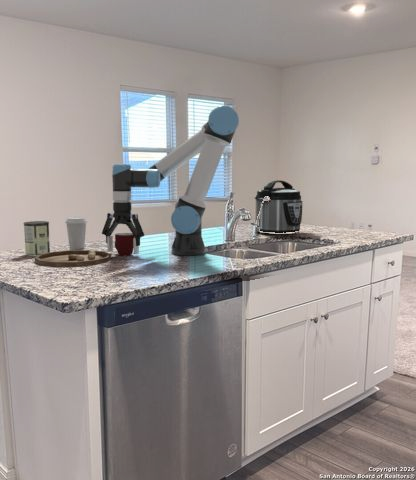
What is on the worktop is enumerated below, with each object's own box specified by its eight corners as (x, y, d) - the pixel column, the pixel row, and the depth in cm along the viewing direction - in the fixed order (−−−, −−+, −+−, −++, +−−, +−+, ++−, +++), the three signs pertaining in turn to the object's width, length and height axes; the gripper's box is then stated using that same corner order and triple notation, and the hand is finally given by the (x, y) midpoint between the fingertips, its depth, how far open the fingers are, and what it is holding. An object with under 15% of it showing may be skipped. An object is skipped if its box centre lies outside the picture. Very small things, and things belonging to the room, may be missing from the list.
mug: (107, 257, 201) (106, 233, 199) (121, 254, 207) (120, 232, 206) (125, 260, 195) (124, 235, 193) (138, 257, 201) (138, 233, 200)
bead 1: (86, 262, 183) (85, 254, 182) (80, 263, 180) (80, 255, 179) (79, 261, 184) (79, 254, 183) (74, 262, 181) (74, 255, 181)
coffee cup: (76, 253, 211) (75, 219, 209) (61, 251, 216) (60, 218, 214) (92, 250, 219) (91, 217, 217) (77, 248, 224) (76, 216, 222)
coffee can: (35, 252, 213) (34, 220, 211) (55, 253, 210) (54, 221, 208) (19, 255, 204) (18, 222, 202) (39, 257, 200) (38, 223, 198)
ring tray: (124, 260, 195) (123, 252, 194) (77, 272, 170) (77, 264, 169) (70, 254, 207) (70, 247, 206) (20, 265, 182) (19, 257, 181)
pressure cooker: (261, 236, 271) (262, 180, 267) (247, 231, 299) (247, 180, 294) (310, 235, 277) (312, 180, 273) (292, 230, 305) (293, 180, 300)
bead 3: (97, 260, 187) (96, 252, 187) (92, 261, 185) (92, 253, 184) (91, 259, 189) (90, 252, 188) (86, 260, 186) (85, 253, 186)
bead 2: (97, 257, 193) (97, 250, 192) (92, 258, 190) (92, 251, 190) (91, 257, 194) (91, 249, 194) (86, 258, 192) (86, 250, 191)
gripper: (152, 202, 196) (152, 253, 199) (103, 200, 206) (104, 249, 209) (142, 203, 189) (142, 256, 192) (92, 201, 200) (93, 251, 202)
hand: (123, 252), depth 201 cm, fingers open, 12 cm apart
